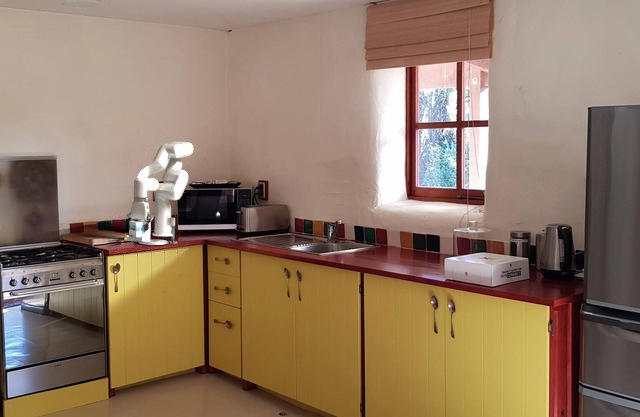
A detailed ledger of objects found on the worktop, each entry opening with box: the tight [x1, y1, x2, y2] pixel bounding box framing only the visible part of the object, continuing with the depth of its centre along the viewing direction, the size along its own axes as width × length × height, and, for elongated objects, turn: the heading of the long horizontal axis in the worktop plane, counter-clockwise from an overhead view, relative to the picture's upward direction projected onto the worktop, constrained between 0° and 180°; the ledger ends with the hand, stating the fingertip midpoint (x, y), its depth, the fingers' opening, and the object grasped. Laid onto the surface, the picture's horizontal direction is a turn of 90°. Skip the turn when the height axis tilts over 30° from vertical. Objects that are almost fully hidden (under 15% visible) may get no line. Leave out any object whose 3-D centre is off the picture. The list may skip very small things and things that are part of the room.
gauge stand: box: [167, 217, 178, 245], centre depth 427 cm, size 4×5×15 cm
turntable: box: [123, 234, 169, 246], centre depth 424 cm, size 16×26×3 cm, turn 74°
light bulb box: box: [128, 220, 152, 240], centre depth 435 cm, size 11×7×11 cm, turn 143°
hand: (139, 229), depth 435 cm, fingers closed on light bulb box, 8 cm apart
